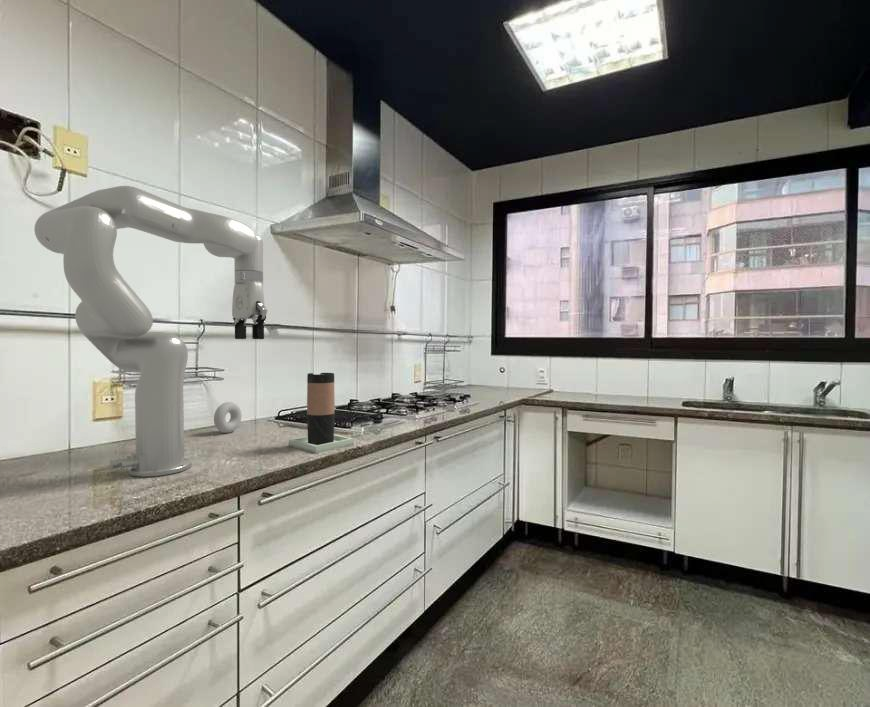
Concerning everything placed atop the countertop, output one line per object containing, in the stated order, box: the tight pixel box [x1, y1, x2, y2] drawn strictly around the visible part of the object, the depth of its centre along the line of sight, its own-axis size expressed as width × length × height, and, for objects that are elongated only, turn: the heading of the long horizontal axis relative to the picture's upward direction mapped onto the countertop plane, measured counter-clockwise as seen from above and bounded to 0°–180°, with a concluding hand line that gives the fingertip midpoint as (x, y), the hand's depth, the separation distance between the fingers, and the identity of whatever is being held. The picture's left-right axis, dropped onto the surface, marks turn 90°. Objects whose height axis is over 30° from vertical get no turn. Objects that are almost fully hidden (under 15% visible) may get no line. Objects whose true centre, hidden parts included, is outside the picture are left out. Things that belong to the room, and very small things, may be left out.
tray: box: [288, 433, 355, 454], centre depth 130 cm, size 13×13×2 cm
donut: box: [213, 401, 242, 434], centre depth 146 cm, size 10×4×10 cm, turn 158°
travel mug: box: [306, 372, 336, 445], centre depth 129 cm, size 8×8×20 cm
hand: (249, 339), depth 129 cm, fingers open, 9 cm apart
